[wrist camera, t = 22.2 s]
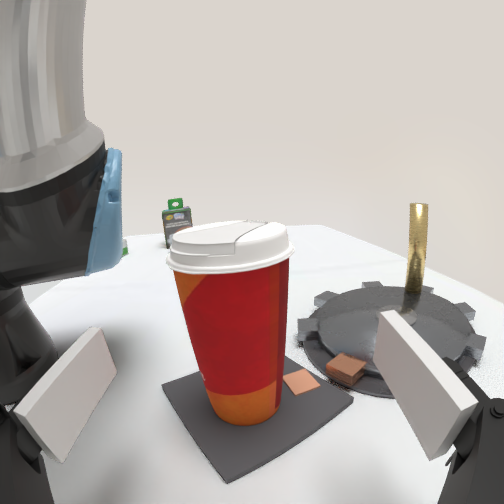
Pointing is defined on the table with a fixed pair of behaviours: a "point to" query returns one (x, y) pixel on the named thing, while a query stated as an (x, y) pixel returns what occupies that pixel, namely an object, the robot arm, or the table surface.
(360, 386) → the sprocket base
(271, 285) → the paper cup
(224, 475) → the marked pad
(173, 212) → the chalk box
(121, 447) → the table surface
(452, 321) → the sprocket
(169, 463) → the table surface
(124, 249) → the small box
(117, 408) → the table surface
